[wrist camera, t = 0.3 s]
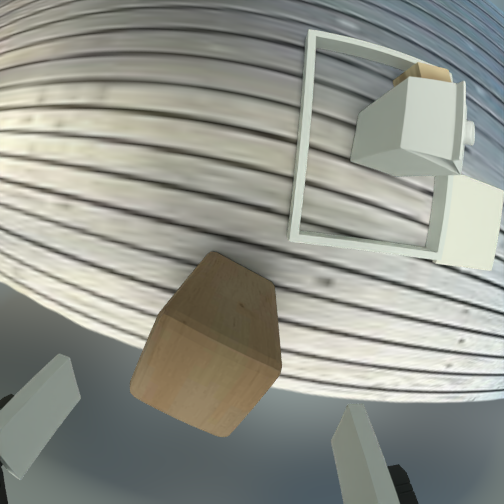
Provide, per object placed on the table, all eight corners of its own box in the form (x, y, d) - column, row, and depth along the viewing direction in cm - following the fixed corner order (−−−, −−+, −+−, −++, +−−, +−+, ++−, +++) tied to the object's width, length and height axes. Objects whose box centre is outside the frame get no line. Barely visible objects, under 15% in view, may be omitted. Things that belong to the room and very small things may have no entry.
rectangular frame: (305, 40, 31) (308, 29, 27) (440, 79, 30) (451, 73, 27) (286, 236, 37) (289, 241, 33) (429, 254, 36) (441, 260, 33)
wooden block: (277, 282, 38) (288, 372, 19) (242, 338, 40) (226, 444, 21) (211, 246, 38) (158, 308, 18) (181, 306, 40) (123, 395, 20)
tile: (445, 170, 33) (449, 170, 33) (500, 190, 33) (503, 190, 32) (432, 261, 37) (435, 263, 36) (487, 269, 36) (491, 270, 35)
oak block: (392, 80, 31) (417, 61, 23) (420, 85, 31) (448, 69, 23) (398, 112, 32) (425, 98, 24) (426, 116, 32) (456, 104, 24)
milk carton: (349, 161, 34) (424, 142, 16) (358, 112, 33) (430, 61, 14) (395, 177, 34) (488, 176, 16) (403, 130, 33) (492, 100, 14)
